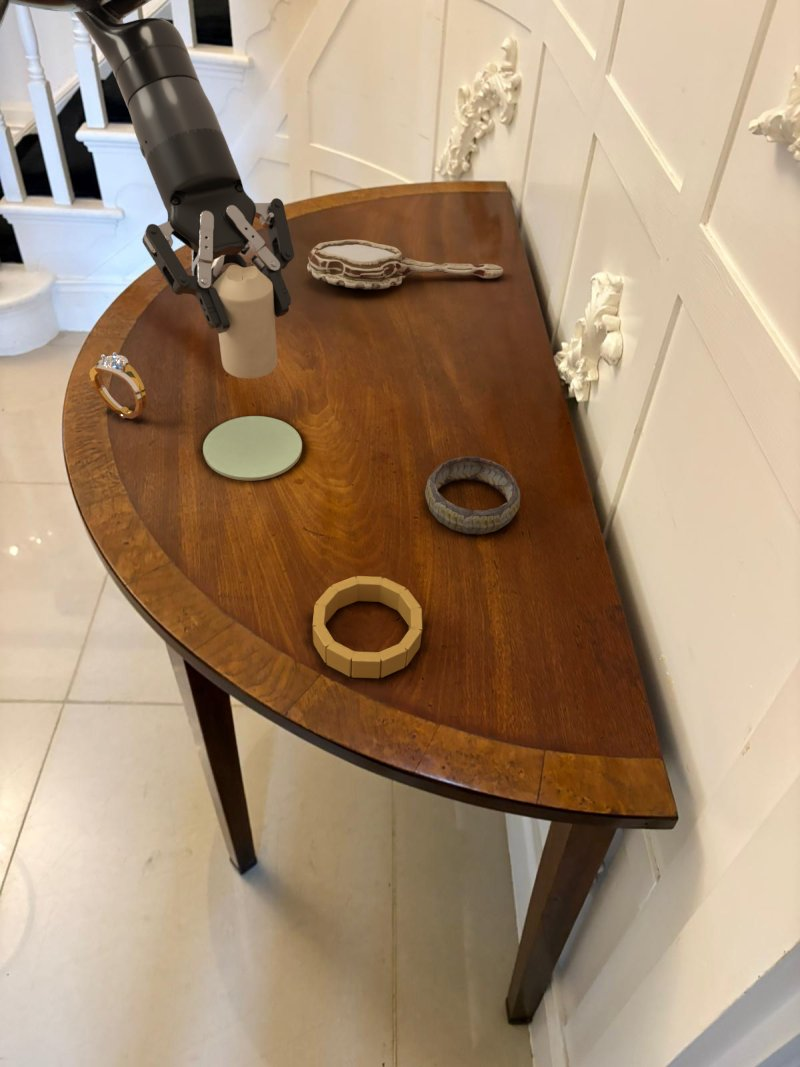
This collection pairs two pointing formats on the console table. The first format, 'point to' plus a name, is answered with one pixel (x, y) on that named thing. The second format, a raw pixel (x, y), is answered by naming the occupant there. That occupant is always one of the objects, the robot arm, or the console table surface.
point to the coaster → (252, 448)
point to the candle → (247, 322)
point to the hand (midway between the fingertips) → (254, 321)
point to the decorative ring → (467, 518)
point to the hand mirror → (378, 265)
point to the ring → (118, 367)
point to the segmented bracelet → (367, 661)
